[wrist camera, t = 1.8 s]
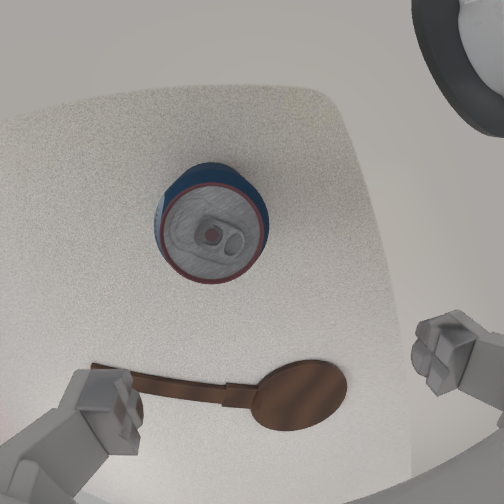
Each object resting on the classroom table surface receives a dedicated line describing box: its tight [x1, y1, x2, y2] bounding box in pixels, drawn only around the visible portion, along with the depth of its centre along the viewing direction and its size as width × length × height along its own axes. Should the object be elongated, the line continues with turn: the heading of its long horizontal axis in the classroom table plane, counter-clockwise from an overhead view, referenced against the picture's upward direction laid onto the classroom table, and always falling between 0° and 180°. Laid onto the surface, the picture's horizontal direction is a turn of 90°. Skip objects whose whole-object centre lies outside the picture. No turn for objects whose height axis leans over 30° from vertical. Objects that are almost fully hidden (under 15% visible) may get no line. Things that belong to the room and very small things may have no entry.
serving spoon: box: [91, 360, 347, 431], centre depth 35 cm, size 33×13×1 cm, turn 77°
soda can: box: [154, 162, 269, 284], centre depth 22 cm, size 7×7×12 cm
